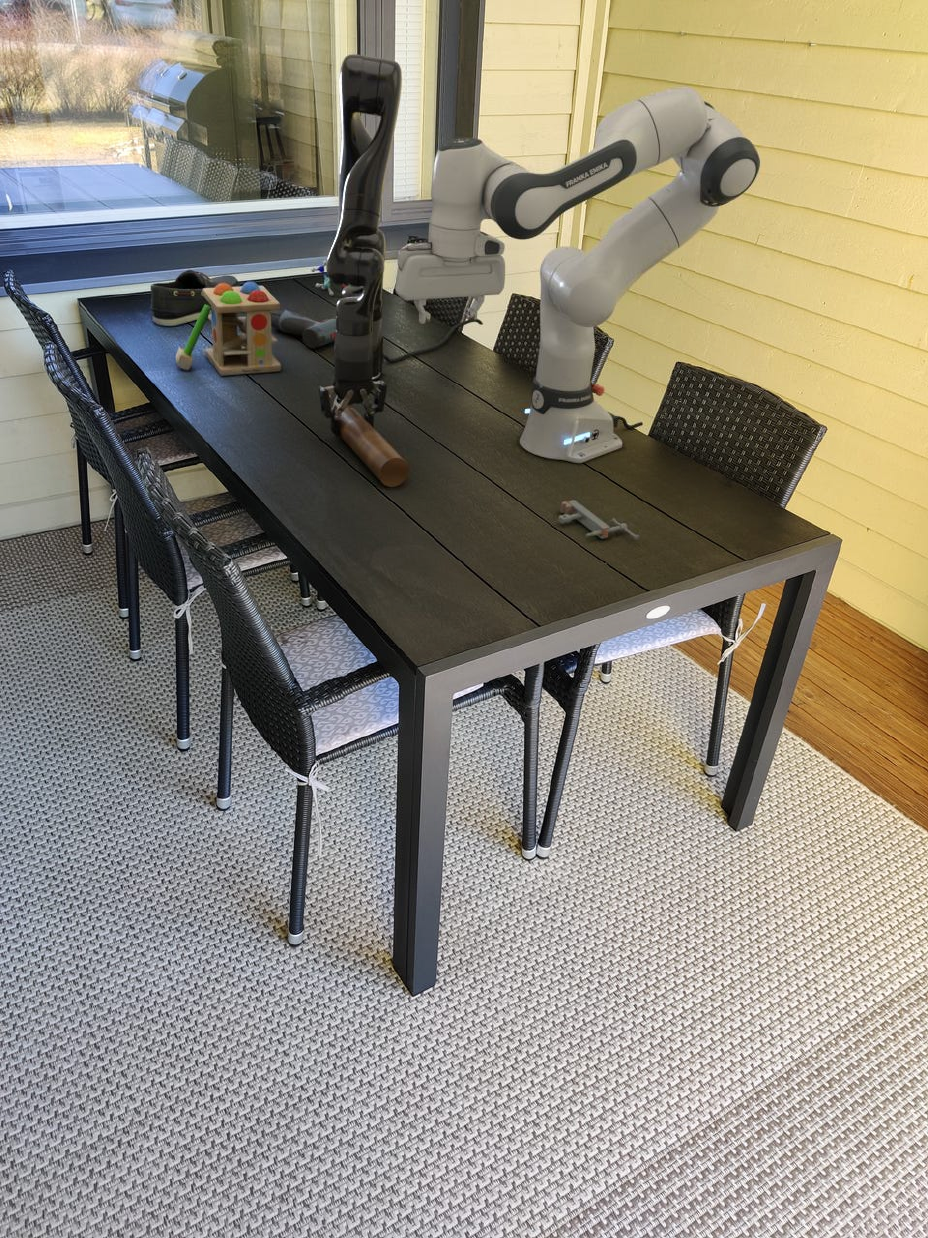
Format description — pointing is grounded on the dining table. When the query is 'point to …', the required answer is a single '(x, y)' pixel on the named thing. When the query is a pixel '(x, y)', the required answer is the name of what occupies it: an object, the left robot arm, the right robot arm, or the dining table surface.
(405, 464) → the rod
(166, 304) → the boat shoe
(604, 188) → the right robot arm
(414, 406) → the dining table surface
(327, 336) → the power drill
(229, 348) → the pounding bench toy
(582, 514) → the clamp
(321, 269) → the molecular model
